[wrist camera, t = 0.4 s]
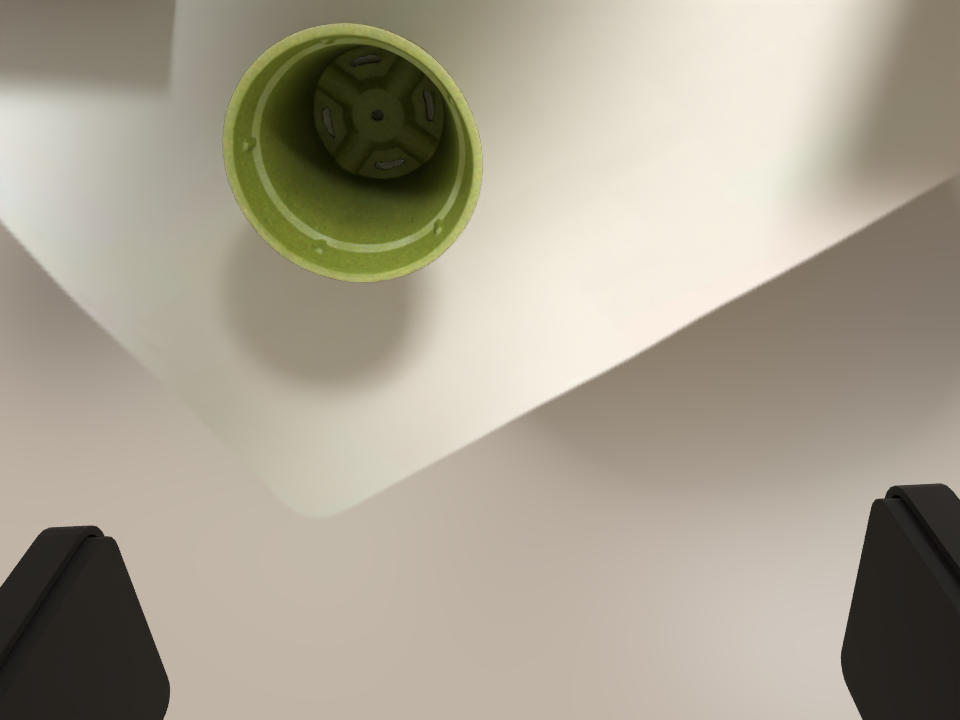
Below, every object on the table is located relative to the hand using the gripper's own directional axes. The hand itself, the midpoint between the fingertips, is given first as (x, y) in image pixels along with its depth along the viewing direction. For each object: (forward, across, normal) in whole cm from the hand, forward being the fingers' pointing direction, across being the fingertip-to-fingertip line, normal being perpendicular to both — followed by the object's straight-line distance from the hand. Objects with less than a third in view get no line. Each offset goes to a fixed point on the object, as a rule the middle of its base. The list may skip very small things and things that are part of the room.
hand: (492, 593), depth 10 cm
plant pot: (+30, +5, 0) cm, 31 cm away
